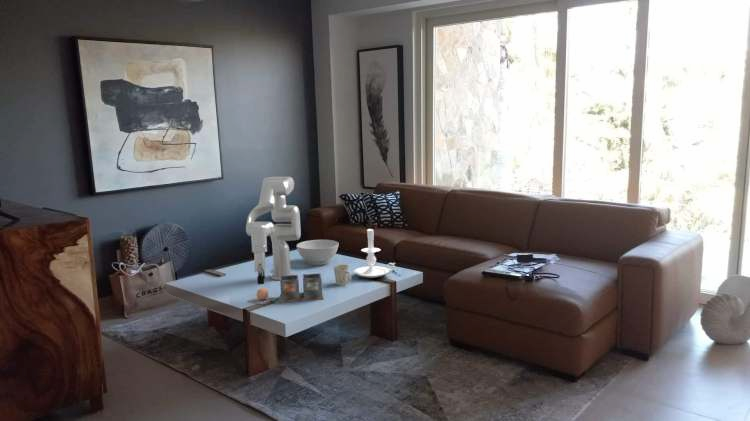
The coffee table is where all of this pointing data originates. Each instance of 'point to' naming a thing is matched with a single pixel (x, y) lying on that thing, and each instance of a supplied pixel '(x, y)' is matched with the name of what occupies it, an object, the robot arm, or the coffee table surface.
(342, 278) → the mug
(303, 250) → the decorative bowl
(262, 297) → the ball
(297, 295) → the dark grey boxy container
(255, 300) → the mat
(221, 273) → the coffee table surface
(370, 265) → the candlestick
